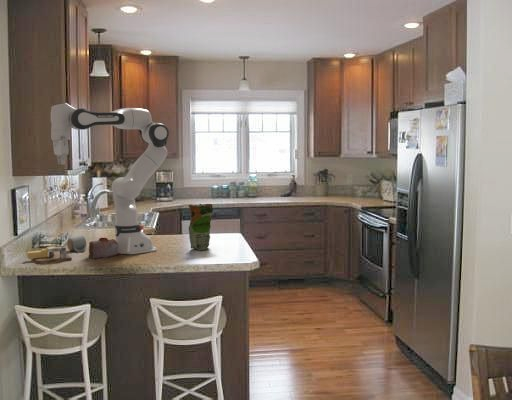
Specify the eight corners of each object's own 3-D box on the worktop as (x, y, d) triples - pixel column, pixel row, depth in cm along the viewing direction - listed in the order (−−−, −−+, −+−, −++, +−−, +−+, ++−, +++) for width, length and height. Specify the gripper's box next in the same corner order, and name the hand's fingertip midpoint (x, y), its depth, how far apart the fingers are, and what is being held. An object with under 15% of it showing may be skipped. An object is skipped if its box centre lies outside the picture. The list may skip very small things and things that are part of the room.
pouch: (214, 247, 302) (213, 202, 300) (206, 252, 291) (206, 204, 289) (195, 247, 305) (194, 201, 303) (186, 251, 294) (186, 204, 292)
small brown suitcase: (113, 253, 288) (112, 235, 287) (119, 256, 281) (119, 237, 280) (87, 257, 279) (87, 237, 278) (93, 259, 273) (93, 239, 272)
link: (55, 254, 278) (55, 246, 278) (57, 256, 274) (57, 247, 273) (27, 257, 272) (26, 248, 271) (28, 259, 267) (27, 250, 267)
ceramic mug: (66, 250, 297) (65, 236, 296) (80, 248, 303) (80, 234, 302) (75, 253, 290) (74, 239, 289) (89, 251, 295) (89, 237, 294)
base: (66, 255, 284) (65, 242, 283) (71, 260, 271) (71, 247, 271) (32, 258, 276) (32, 245, 276) (36, 263, 264) (36, 250, 263)
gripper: (71, 135, 265) (72, 164, 266) (63, 136, 283) (64, 163, 284) (57, 135, 262) (58, 165, 263) (50, 136, 280) (51, 164, 281)
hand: (61, 164), depth 274 cm, fingers open, 8 cm apart
